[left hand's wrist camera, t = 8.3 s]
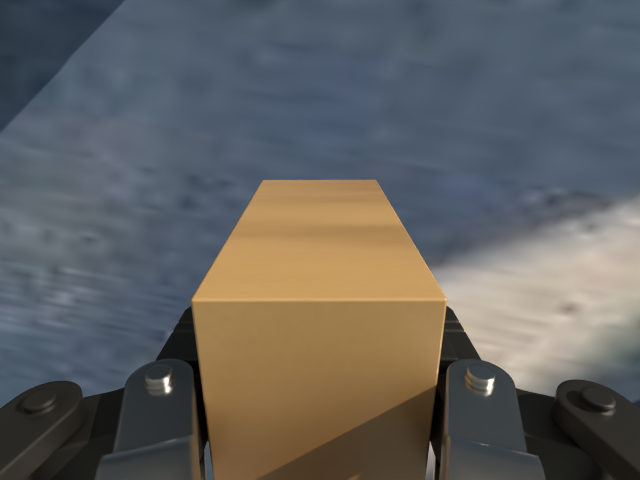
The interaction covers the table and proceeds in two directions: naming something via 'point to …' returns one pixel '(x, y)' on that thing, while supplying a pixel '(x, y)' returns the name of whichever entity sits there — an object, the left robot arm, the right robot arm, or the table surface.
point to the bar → (319, 339)
